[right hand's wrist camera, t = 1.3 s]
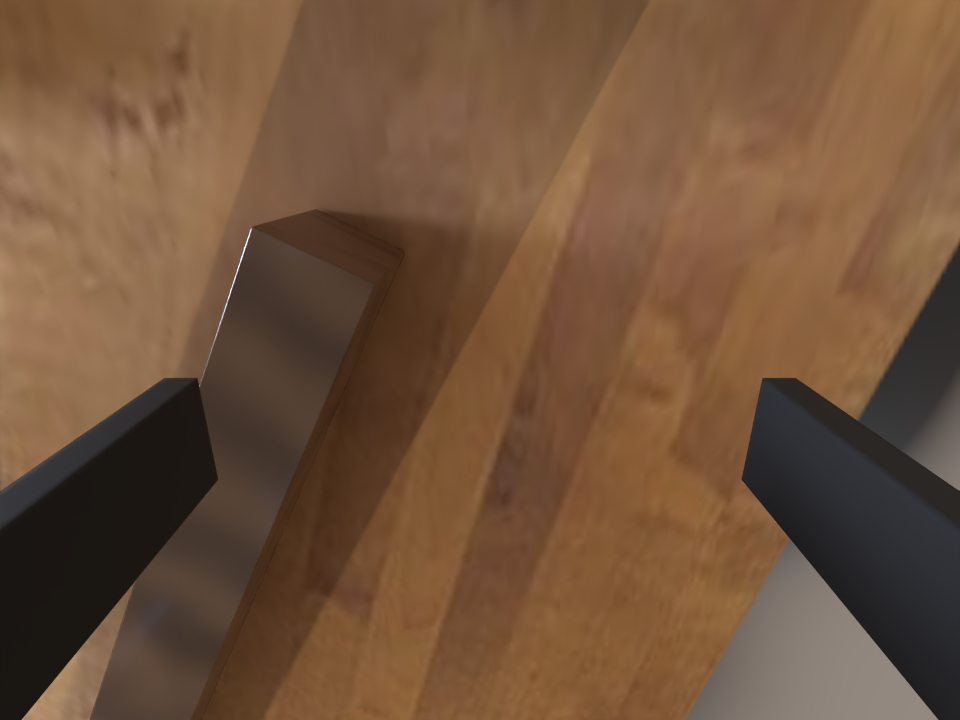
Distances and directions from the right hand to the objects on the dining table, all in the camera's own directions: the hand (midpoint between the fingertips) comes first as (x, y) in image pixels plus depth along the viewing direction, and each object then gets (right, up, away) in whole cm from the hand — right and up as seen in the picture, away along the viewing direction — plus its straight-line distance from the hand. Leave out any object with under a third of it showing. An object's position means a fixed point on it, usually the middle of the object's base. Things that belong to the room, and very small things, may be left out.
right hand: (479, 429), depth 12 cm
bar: (-25, -26, +29) cm, 46 cm away
